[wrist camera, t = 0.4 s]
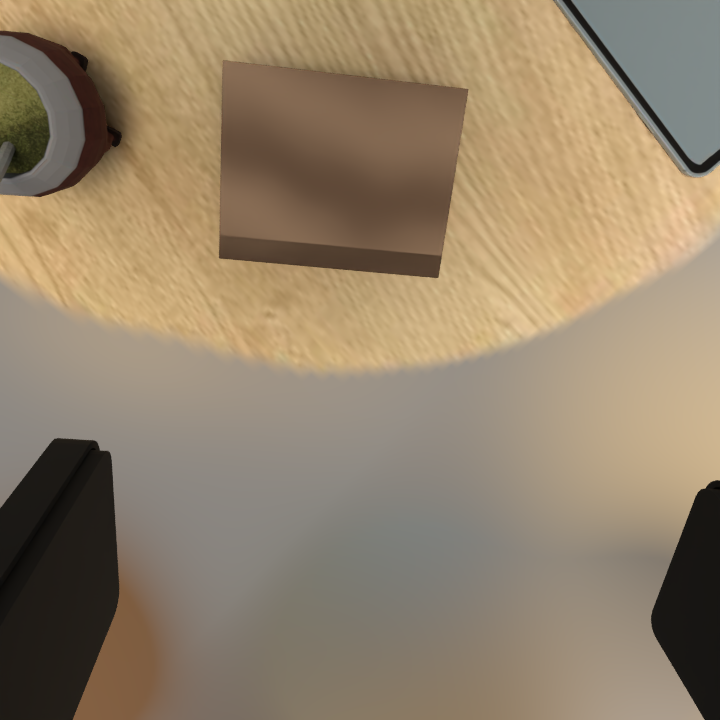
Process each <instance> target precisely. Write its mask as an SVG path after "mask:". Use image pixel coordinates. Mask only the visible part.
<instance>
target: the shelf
mask: <svg viewBox="0 0 720 720" xmlns="http://www.w3.org/2000/svg"><path fill="white" fill-rule="evenodd" d="M467 95H468V89H463V88H454V87H446V86H437V85H429V84H420V83H412V82H403V81H395V80H386V79H377V78H369V77H360V76H352V75H343V74H335V73H326V72H318V71H309V70H301V69H292V68H284V67H275V66H267V65H258V64H249V63H241V62H232V61H224V60H223V76H222V131H221V186H220V242H219V258H222V259H233V260H244V261H255V262H266V263H277V264H288V265H299V266H310V267H321V268H332V269H343V270H354V271H366V272H377V273H388V274H399V275H410V276H421V277H432V278H438V276H439V270H440V264H441V257H442V251H443V245H444V239H445V232H446V226H447V220H448V214H449V207H450V201H451V195H452V189H453V182H454V176H455V170H456V164H457V157H458V151H459V145H460V139H461V132H462V126H463V120H464V114H465V107H466V101H467Z"/></svg>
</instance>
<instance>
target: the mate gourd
mask: <svg viewBox="0 0 720 720" xmlns="http://www.w3.org/2000/svg"><path fill="white" fill-rule="evenodd" d="M87 64H88V60H87V58H86V57H84V56H83V55H81V54H79V53H77V52H70V51H69V50H68V49H67V48H66V47H64V46H62V45H59V44H56V43H54V42H51V41H48V40H45V39H43V38H40V37H37V36H34V35H32V34H29V33H21V32H10V31H0V194H3V195H18V196H34V197H42V196H45V195H49V194H52V193H54V192H57V191H60V190H63V189H66V188H69V187H72V186H74V185H75V184H77V183H78V182H79V181H80V180H81V179H82V178H83V177H84V176H85V175H86V174H87V173H88V172H89V171H90V170H91V169H92V168H93V167H94V166H95V165H96V164H97V163H98V162H99V160H100V159H101V158H102V156H103V155H104V153H105V152H107V151H108V150H109V149H110V147H111V145H112V146H114V147H116V146H118V145H119V143H120V141H121V138H122V134H121V133H120V132H119V131H117V130H115V129H113V128H111V127H109V126H107V124H106V117H105V109H104V105H103V103H102V101H101V99H100V97H99V94H98V92H97V90H96V88H95V86H94V84H93V81H92V79H91V78H90V77H89V76H88V75H87V74H86V69H87Z"/></svg>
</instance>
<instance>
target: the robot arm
mask: <svg viewBox="0 0 720 720" xmlns="http://www.w3.org/2000/svg"><path fill="white" fill-rule="evenodd" d="M118 598H119V576H118V560H117V543H116V526H115V510H114V492H113V475H112V460H111V455H110V452H108V451H100V449H99V446H98V443H97V442H96V441H93V440H76V439H61V438H57V439H54V440H53V441H52V442H51V443H50V445H49V446H48V447H47V448H46V450H45V451H44V452H43V454H42V455H41V456H40V457H39V459H38V460H37V461H36V463H35V464H34V465H33V467H32V468H31V469H30V471H29V472H28V473H27V474H26V476H25V477H24V478H23V480H22V481H21V482H20V484H19V485H18V486H17V487H16V489H15V490H14V491H13V493H12V494H11V495H10V496H9V498H8V499H7V500H6V502H5V503H4V504H3V506H2V507H1V508H0V720H73V717H74V715H75V712H76V710H77V707H78V704H79V702H80V700H81V697H82V695H83V692H84V690H85V687H86V685H87V682H88V680H89V677H90V675H91V672H92V670H93V667H94V665H95V662H96V660H97V657H98V655H99V652H100V649H101V647H102V645H103V642H104V640H105V637H106V635H107V632H108V630H109V627H110V625H111V622H112V620H113V617H114V615H115V612H116V608H117V604H118ZM651 623H652V629H653V632H654V634H655V637H656V638H657V640H658V642H659V644H660V645H661V647H662V649H663V650H664V652H665V654H666V655H667V657H668V659H669V660H670V662H671V663H672V666H673V667H674V669H675V671H676V672H677V674H678V676H679V677H680V679H681V681H682V682H683V684H684V686H685V687H686V689H687V691H688V692H689V694H690V696H691V697H692V699H693V701H694V703H695V704H696V706H697V708H698V709H699V711H700V713H701V714H702V716H703V718H704V719H705V720H720V481H718V480H716V481H713V482H711V483H710V484H708V486H707V487H706V489H701V490H700V491H699V492H698V494H697V496H696V497H695V500H694V503H693V505H692V508H691V511H690V513H689V516H688V518H687V521H686V524H685V527H684V529H683V532H682V535H681V537H680V540H679V542H678V545H677V547H676V550H675V553H674V556H673V558H672V561H671V563H670V566H669V569H668V571H667V574H666V576H665V579H664V582H663V584H662V587H661V590H660V592H659V595H658V598H657V600H656V603H655V605H654V608H653V611H652V615H651Z"/></svg>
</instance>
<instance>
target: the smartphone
mask: <svg viewBox="0 0 720 720" xmlns="http://www.w3.org/2000/svg"><path fill="white" fill-rule="evenodd" d="M553 1H554V2H555V3H556V5H557V6H558V7H559V9H560V10H561V11H562V13H563V14H564V15H565V17H566V18H567V19H568V21H569V22H570V23H571V25H572V26H573V28H574V29H575V30H576V32H577V33H578V34H579V35H580V37H581V38H582V39H583V41H584V42H585V43H586V45H587V46H588V47H589V49H590V50H591V51H592V53H593V54H594V56H595V57H596V58H597V60H598V61H599V63H600V64H601V65H602V67H603V68H604V69H605V71H606V72H607V73H608V75H609V76H610V77H611V79H612V80H613V81H614V83H615V84H616V85H617V87H618V88H619V89H620V91H621V92H622V93H623V95H624V96H625V98H626V99H627V100H628V102H629V103H630V104H631V106H632V107H633V108H634V110H635V111H636V112H637V114H638V115H639V117H640V118H641V119H642V120H643V122H644V123H645V124H646V126H647V127H648V128H649V130H650V131H651V133H652V134H653V135H654V137H655V138H656V139H657V141H658V142H659V143H660V145H661V146H662V147H663V149H664V150H665V151H666V152H667V154H668V155H669V156H670V158H671V159H672V160H673V162H674V163H675V164H676V166H677V167H678V168H679V170H680V171H681V172H682V173H683V174H685V175H687V176H692V177H703V176H706V175H708V174H709V173H711V172H712V171H713V170H714V169H715V168H716V167H718V166H719V165H720V0H553Z"/></svg>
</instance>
